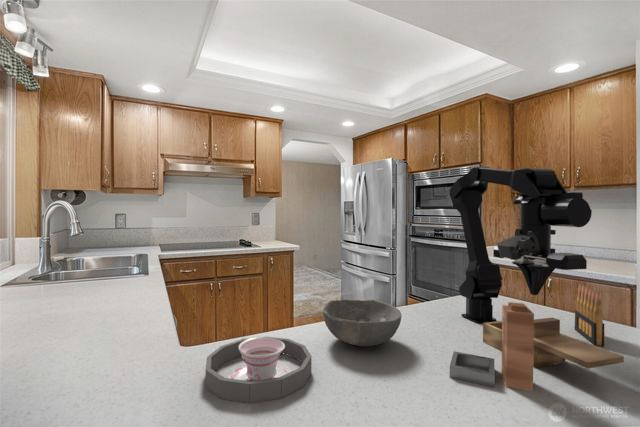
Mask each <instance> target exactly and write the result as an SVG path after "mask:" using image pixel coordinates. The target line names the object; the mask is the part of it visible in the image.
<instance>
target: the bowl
mask: <svg viewBox="0 0 640 427" xmlns="http://www.w3.org/2000/svg"><path fill="white" fill-rule="evenodd" d="M324 306H325V307H324V308H323V311H322V313H323V314H322V315H323V320H324V324H325V325H326V327H327V329H328V330H329V332H330V333H331V334H332V335H333V336H334V337H335V338H336V339H338V340H339V341H342V342H345V343H347V344H350V345H353V346H357V347H372V346H377V345H381V344H384V343H386V342H387V341H389V340H391V339H392V338H393V337H394V335H395V334H396V333H397V330H398V329H399V327H400V325H401V321H402V312H401V310H400V309H399V308H397V307H396V306H394V305H391V304H390V303H387V302H383V301H378V300H375V299H365V300H359V299H336V300H329V301H328V302H327V303H326V304H325V305H324Z"/></svg>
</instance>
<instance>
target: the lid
mask: <svg viewBox="0 0 640 427" xmlns="http://www.w3.org/2000/svg"><path fill="white" fill-rule="evenodd" d="M560 331H561V319H559V318H555V317H545V318H538V319H537V318H534V345H535V346H537V347H539V348H541V349H544V350H546V351H548V352H551V353H553V354H555V355H557V356H560V357H562V358H564V359H565V360H567V361H570V362H571V363H573V364H576V365H577V366H581V367H583V368H585V369H593V368H600V367H605V366H611V365H617V364H620V363H622V364H623V363H625V362H624V360H625V359H624V357H625V356H624V355H621V354H619V353H616V352H613V351H610V350H607V349H604V348H602V347H600V346H594V345H593V344H592V343H588V342H585V341H583V340H580V339H577V338H574V337H572V336H570V335H566V334H564V333H561V332H560Z"/></svg>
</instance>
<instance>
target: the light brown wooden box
mask: <svg viewBox="0 0 640 427" xmlns="http://www.w3.org/2000/svg"><path fill="white" fill-rule="evenodd" d="M482 342H483V343H485V344H486V345H488V346H490V347H493V348H495V349H497V350H499V351H500V352H502V320H500V321H499V320H498V321H497V320H496V321H491V322H482ZM563 363H566V359H564V358H562V357H560V356H557V355H555V354H553V353H551V352H548V351H546V350H544V349H541V348H539V347H537V346H535V345H534V351H533V369H535V368H540V367H544V366H545V367H546V366H551V365H558V364H563Z"/></svg>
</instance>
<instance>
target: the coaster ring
mask: <svg viewBox="0 0 640 427" xmlns="http://www.w3.org/2000/svg"><path fill="white" fill-rule="evenodd" d="M259 337H260V336H259ZM259 337H257V338H259ZM266 337H267V338H274V339H278V340H280V341H282V342H283V343H284V344H285V348H284V349H283V351H282V353H284V354H283V355H286V354H288V355H290V356H289V357H291V356H292V357H291V358H293V357H295V358H297V359H299V360H301V361H302V362H301V361H300V362H301V365H300V367H297V368H296V369H294V370H292V372H290V373H287V374H285V375H283V376H281V377H278V378H274V377H272V378H271V379H264V380H257V381H252V380H247V381H245V380H237V379H230V378H227V377H225V376H223V375H221V374H220V373H218V372H216V370H217V369H218V368H219V367H220V366H222V364H224V363H225V362H228V361H230V360H234V359H236V358H239V357H242V355H241V354H240V351H239V348H238V347H239V344H240V343H241V342H243V341H245V340H248V339H252V338H253V337H250V338H242V339H239V340H236V341H233V342H230V343H227V344H224V345H220V346H219V347H218V348H217V349H215V350H214V351H213V352H212V353H209V354H208V355H207V357H206V363H205V388H206V389H207V390H208V391H210V392H212V393H213V394H214V395H215V396H217V397H218V398H219V399H221V400H226V401H233V402H240V403H246V404H253V403H260V402H265V401H273V400H277V399H278V400H279V399H283V398H285V397H286V396H288V395H290V394H292V393H294V392H297V391H298V390H299V389H302V388H303V387H305V385H306V383H307V381H308V380H309V377H310V376H311V374H312V354H311V353H310V352H309V350H308V348H307V346H306V345H305V344H302V343H301V342H297V341H294V340H293V339H290V338H284V337H274V336H273V337H272V336H266ZM288 355H287V356H288ZM295 358H294V359H295ZM297 359H296V360H297ZM299 360H298V361H299ZM302 363H303V364H302ZM307 379H308V380H307Z"/></svg>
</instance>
